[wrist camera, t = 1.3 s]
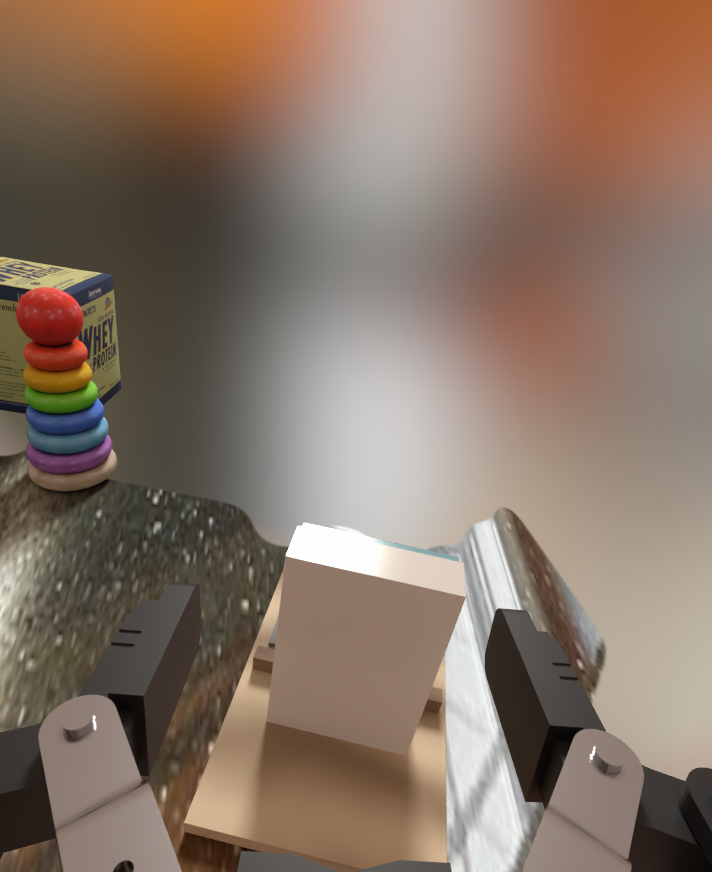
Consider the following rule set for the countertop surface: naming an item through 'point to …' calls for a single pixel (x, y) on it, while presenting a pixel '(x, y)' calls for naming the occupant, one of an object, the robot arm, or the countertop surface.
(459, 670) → the countertop surface
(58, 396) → the stacking toy
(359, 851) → the board
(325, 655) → the tile
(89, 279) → the protein box
